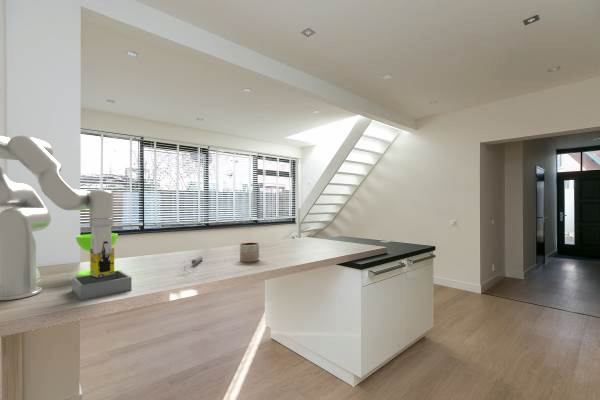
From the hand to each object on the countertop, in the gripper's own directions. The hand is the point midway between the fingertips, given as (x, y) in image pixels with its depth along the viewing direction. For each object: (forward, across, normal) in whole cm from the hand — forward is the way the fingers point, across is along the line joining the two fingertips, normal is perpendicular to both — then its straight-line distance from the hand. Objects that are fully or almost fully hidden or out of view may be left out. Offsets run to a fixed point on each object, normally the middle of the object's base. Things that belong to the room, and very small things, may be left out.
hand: (102, 269), depth 109 cm
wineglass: (+8, -31, +5) cm, 33 cm away
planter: (+9, -3, +71) cm, 71 cm away
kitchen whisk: (+9, -13, +42) cm, 45 cm away
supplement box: (+3, 0, 0) cm, 3 cm away
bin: (+8, 0, 0) cm, 8 cm away
